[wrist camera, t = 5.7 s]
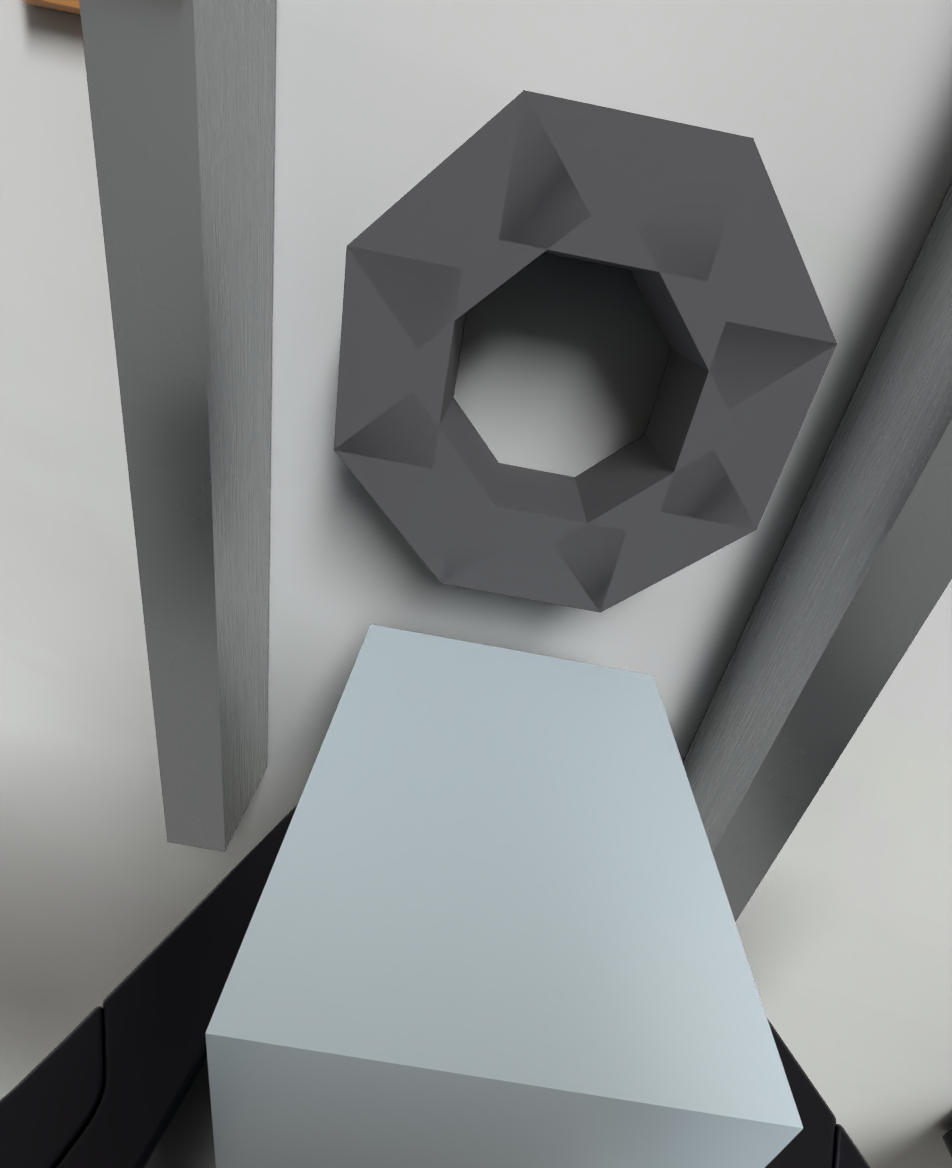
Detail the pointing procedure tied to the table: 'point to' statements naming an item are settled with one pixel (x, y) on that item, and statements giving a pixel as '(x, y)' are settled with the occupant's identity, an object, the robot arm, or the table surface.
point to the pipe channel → (243, 450)
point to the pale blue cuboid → (494, 938)
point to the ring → (675, 297)
